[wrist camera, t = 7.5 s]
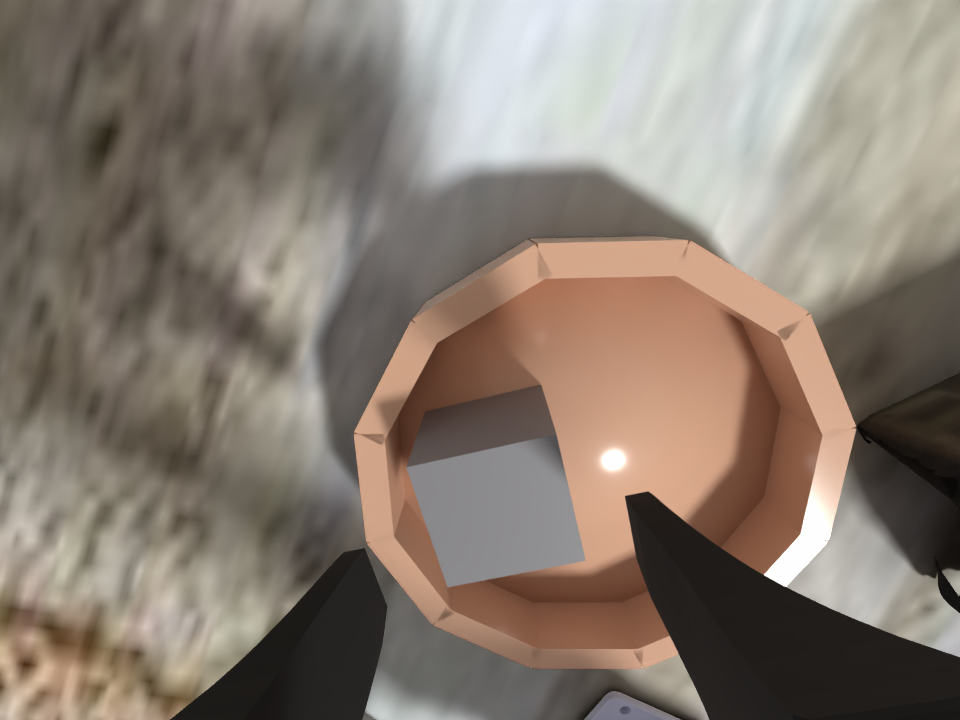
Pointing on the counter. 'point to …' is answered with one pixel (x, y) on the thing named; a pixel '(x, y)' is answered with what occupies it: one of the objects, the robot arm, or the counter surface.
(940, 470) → the juice carton
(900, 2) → the counter surface
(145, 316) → the counter surface
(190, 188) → the counter surface
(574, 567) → the bowl
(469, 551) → the grey cube
